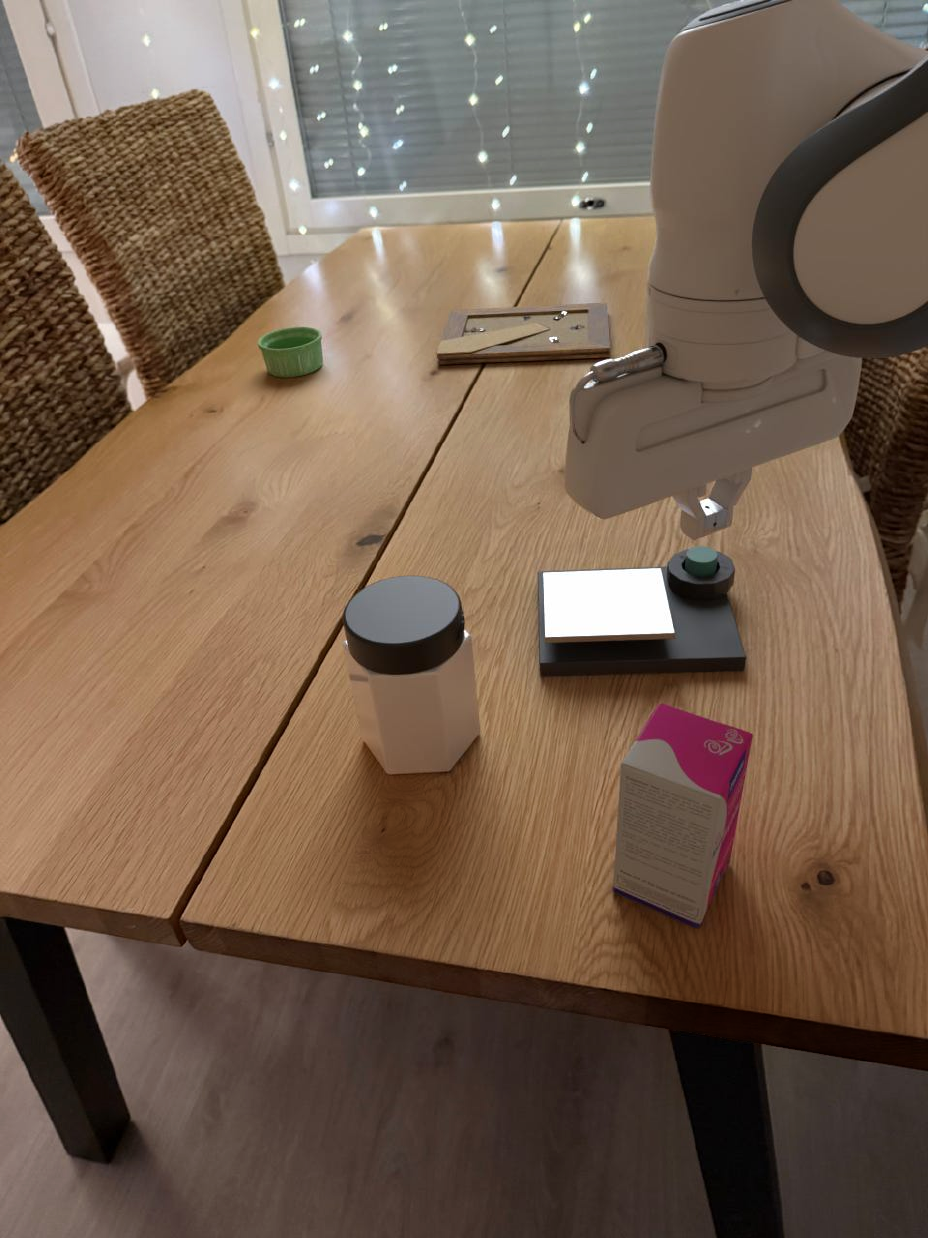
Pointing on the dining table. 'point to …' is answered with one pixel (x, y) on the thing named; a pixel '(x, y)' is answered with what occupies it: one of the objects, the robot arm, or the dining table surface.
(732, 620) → the scale
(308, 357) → the ramekin
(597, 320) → the picture frame
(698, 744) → the supplement box
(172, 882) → the dining table surface
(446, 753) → the jar
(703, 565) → the tare button
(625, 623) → the scale pan
